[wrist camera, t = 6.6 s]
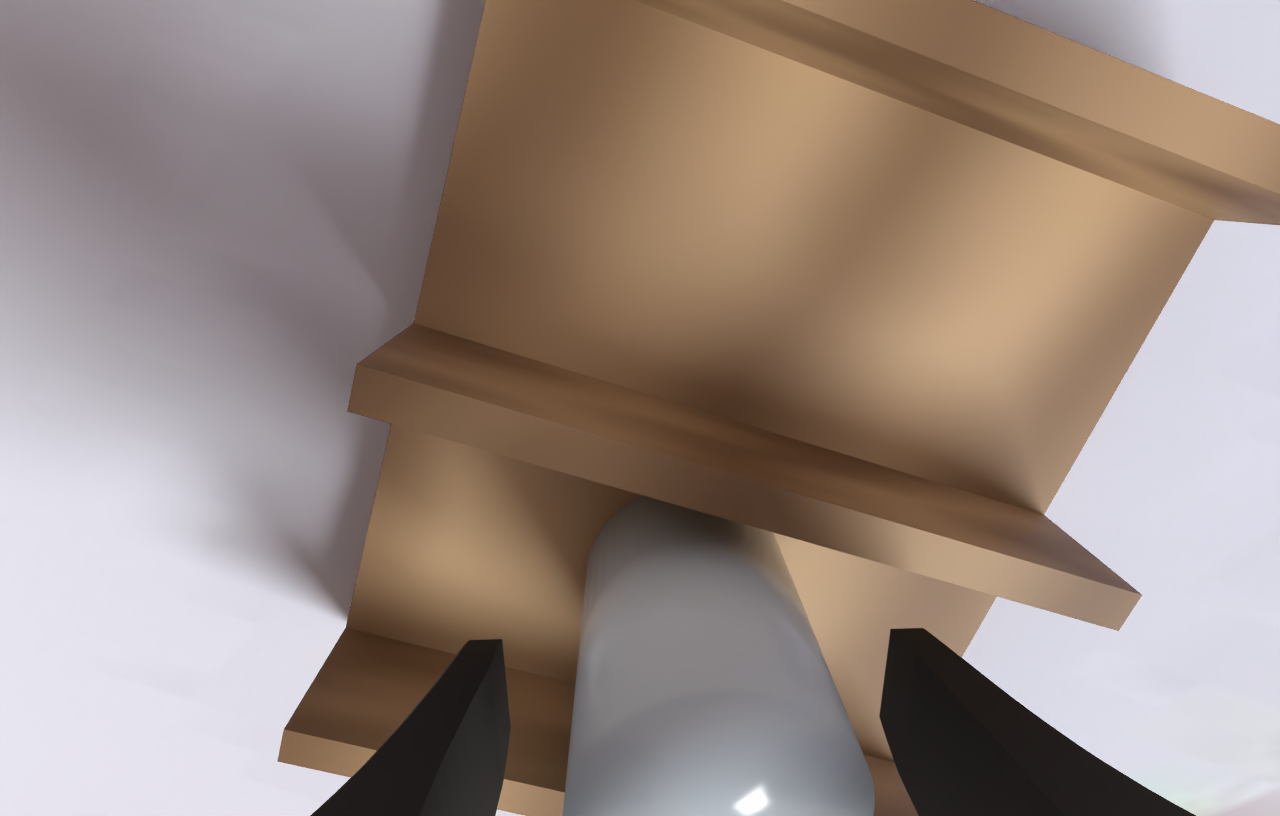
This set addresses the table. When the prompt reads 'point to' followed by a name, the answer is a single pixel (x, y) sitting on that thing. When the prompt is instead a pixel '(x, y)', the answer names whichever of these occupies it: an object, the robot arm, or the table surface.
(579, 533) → the rack
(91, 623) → the table surface
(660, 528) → the cylinder
